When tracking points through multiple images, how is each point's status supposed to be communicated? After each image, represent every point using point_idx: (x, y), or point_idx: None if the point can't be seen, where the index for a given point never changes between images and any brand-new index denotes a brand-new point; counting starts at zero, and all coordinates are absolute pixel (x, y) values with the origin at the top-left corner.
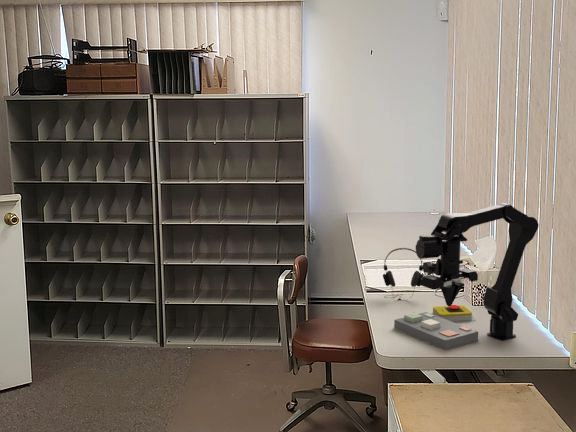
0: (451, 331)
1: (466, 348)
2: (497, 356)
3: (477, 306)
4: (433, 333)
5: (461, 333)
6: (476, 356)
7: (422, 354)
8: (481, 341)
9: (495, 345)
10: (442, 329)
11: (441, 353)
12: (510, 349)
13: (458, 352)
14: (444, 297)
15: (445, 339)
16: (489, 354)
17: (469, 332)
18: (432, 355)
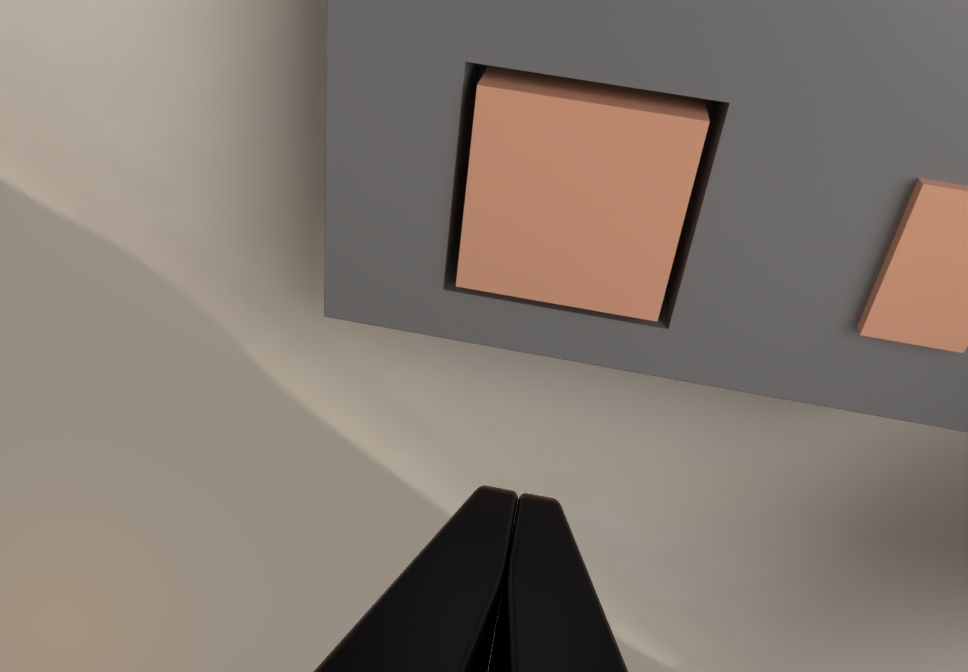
0: (659, 202)
1: (586, 383)
2: (617, 636)
3: None
4: (395, 29)
5: (719, 321)
6: None
7: (56, 158)
8: None
9: (890, 535)
10: (678, 6)
11: (256, 282)
12: (869, 651)
13: (424, 383)
14: (338, 657)
15: (352, 298)
16: (609, 582)
17: (836, 375)
18: (136, 249)
